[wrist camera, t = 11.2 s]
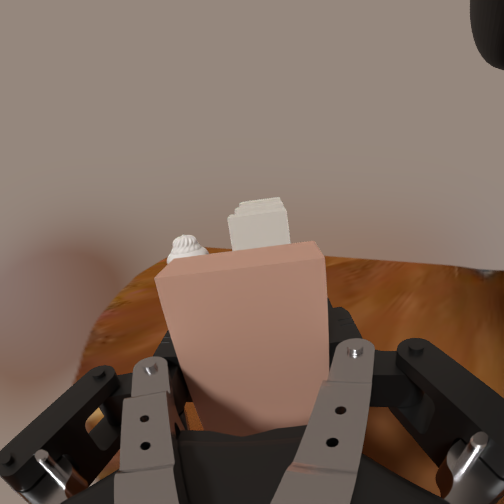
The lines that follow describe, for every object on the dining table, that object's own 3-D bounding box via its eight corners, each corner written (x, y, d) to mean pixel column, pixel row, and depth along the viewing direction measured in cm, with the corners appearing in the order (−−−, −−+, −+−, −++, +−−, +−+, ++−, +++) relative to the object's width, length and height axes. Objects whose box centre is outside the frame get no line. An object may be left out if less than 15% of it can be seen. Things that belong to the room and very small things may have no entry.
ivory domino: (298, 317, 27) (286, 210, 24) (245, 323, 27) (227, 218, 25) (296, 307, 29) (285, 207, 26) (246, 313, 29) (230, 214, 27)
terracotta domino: (326, 460, 11) (324, 257, 8) (220, 468, 11) (154, 278, 8) (321, 431, 13) (313, 240, 10) (225, 438, 13) (173, 258, 10)
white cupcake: (173, 291, 39) (162, 242, 37) (171, 278, 45) (161, 235, 43) (216, 281, 41) (207, 232, 39) (209, 270, 46) (201, 227, 45)
